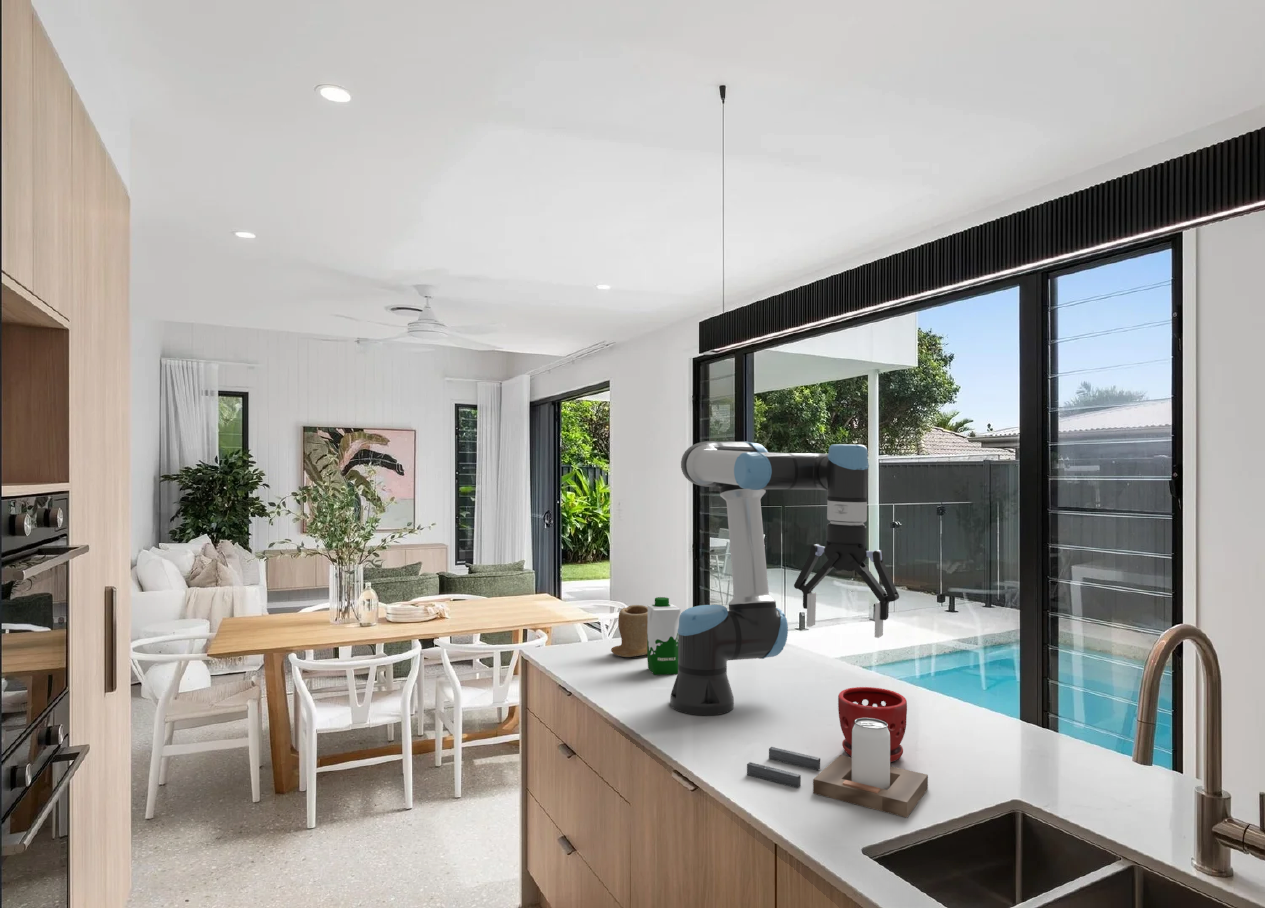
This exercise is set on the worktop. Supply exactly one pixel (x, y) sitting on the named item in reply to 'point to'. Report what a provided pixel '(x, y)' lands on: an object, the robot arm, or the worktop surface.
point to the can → (871, 753)
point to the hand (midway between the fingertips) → (843, 630)
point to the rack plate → (871, 788)
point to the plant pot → (873, 714)
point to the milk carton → (662, 637)
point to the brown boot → (632, 631)
